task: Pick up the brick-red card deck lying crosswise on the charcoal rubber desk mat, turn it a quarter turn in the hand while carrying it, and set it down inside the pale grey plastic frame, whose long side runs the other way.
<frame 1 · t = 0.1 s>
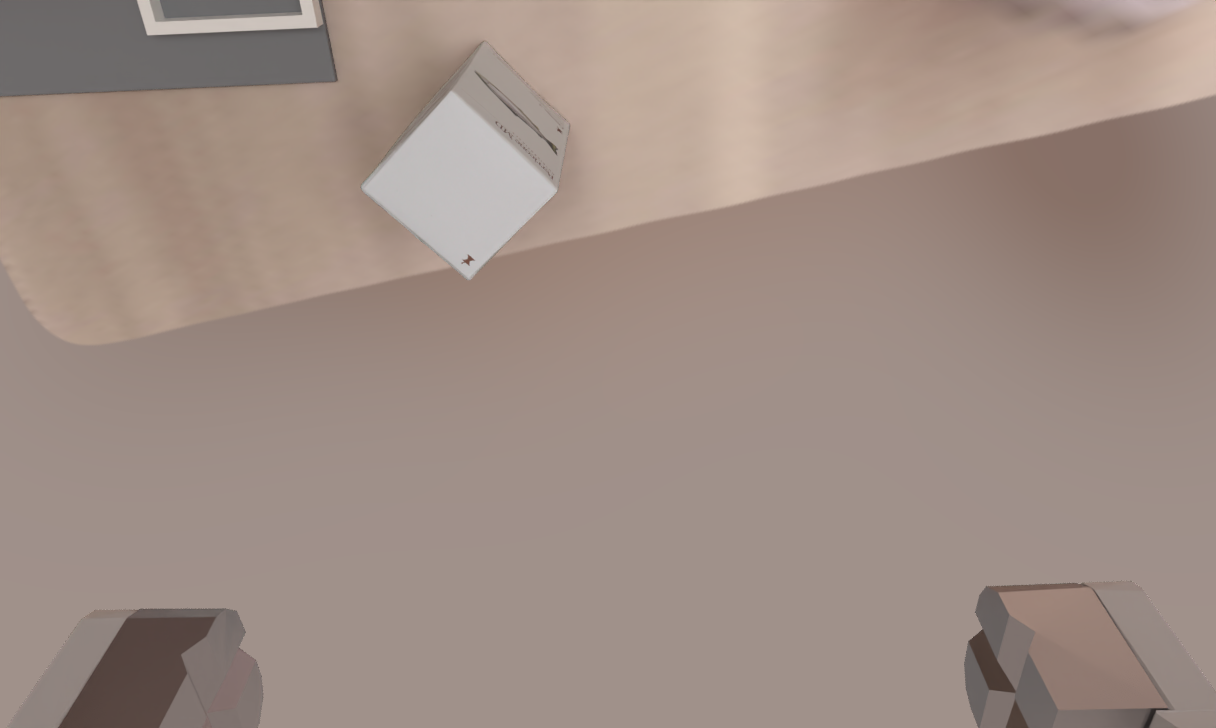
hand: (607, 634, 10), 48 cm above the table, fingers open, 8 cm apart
supplement box: (490, 121, 55), on the table
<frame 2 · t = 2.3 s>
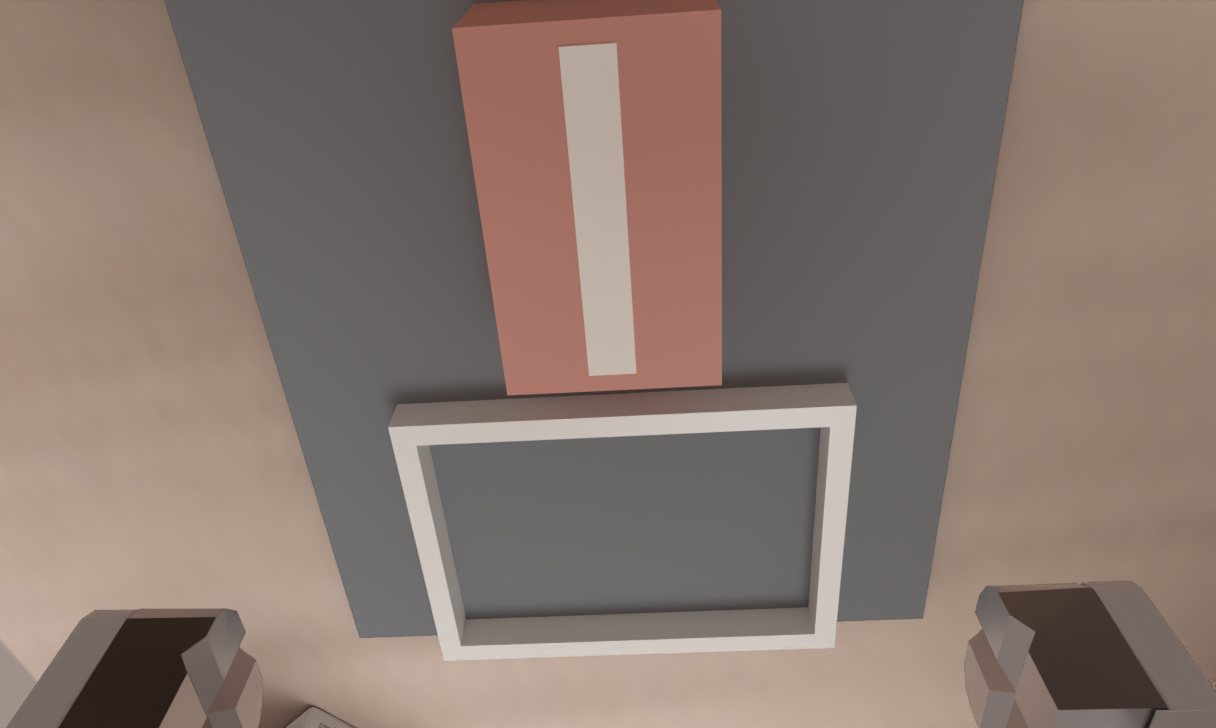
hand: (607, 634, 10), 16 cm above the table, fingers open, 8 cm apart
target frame: (628, 520, 29), resting on desk mat
card deck: (604, 181, 23), resting on desk mat
desk mat: (617, 356, 26), on the table
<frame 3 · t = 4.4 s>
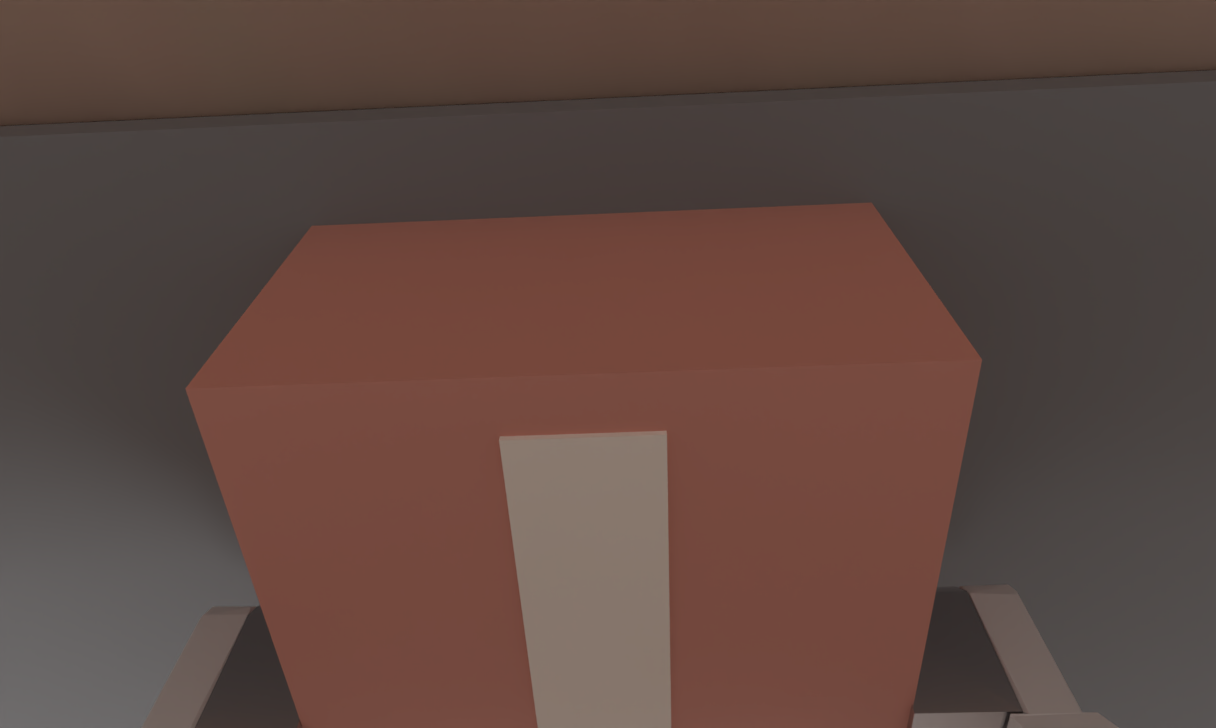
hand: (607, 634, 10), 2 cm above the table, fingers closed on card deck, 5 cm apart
card deck: (609, 556, 11), resting on desk mat, touching gripper
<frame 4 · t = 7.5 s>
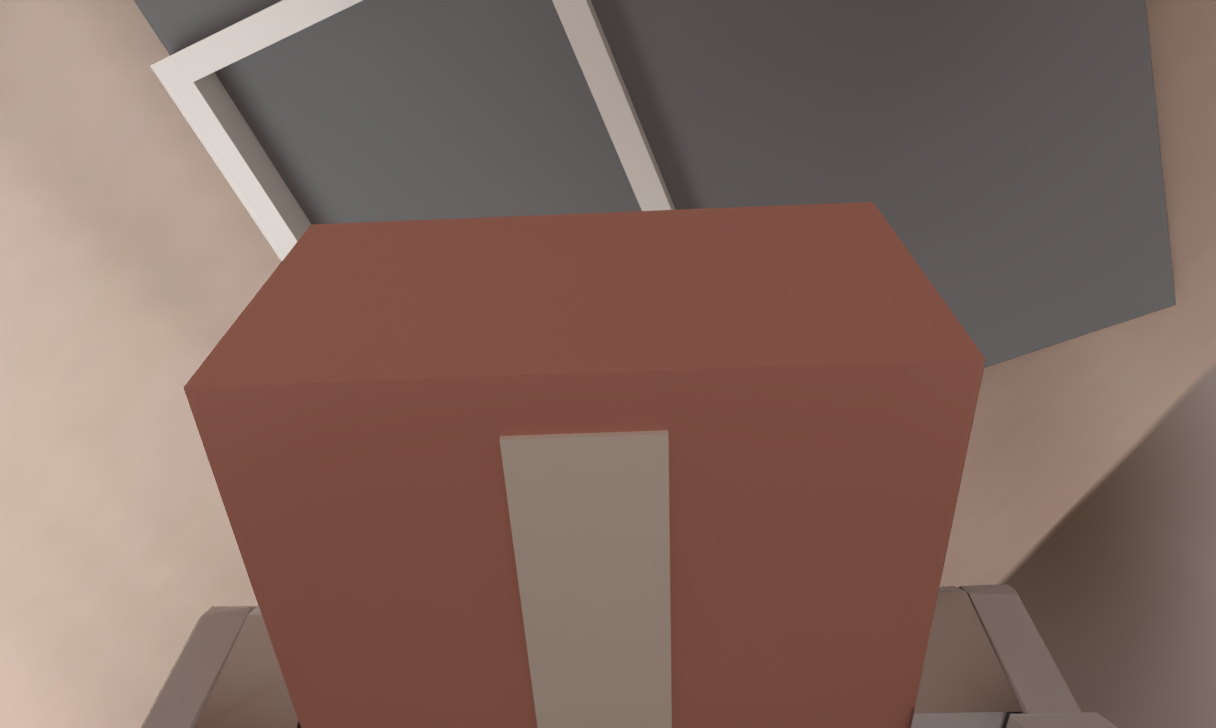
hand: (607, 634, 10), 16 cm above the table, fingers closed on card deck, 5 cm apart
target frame: (479, 218, 24), resting on desk mat
card deck: (609, 556, 11), point 15 cm above the table, touching gripper
desk mat: (687, 127, 23), on the table
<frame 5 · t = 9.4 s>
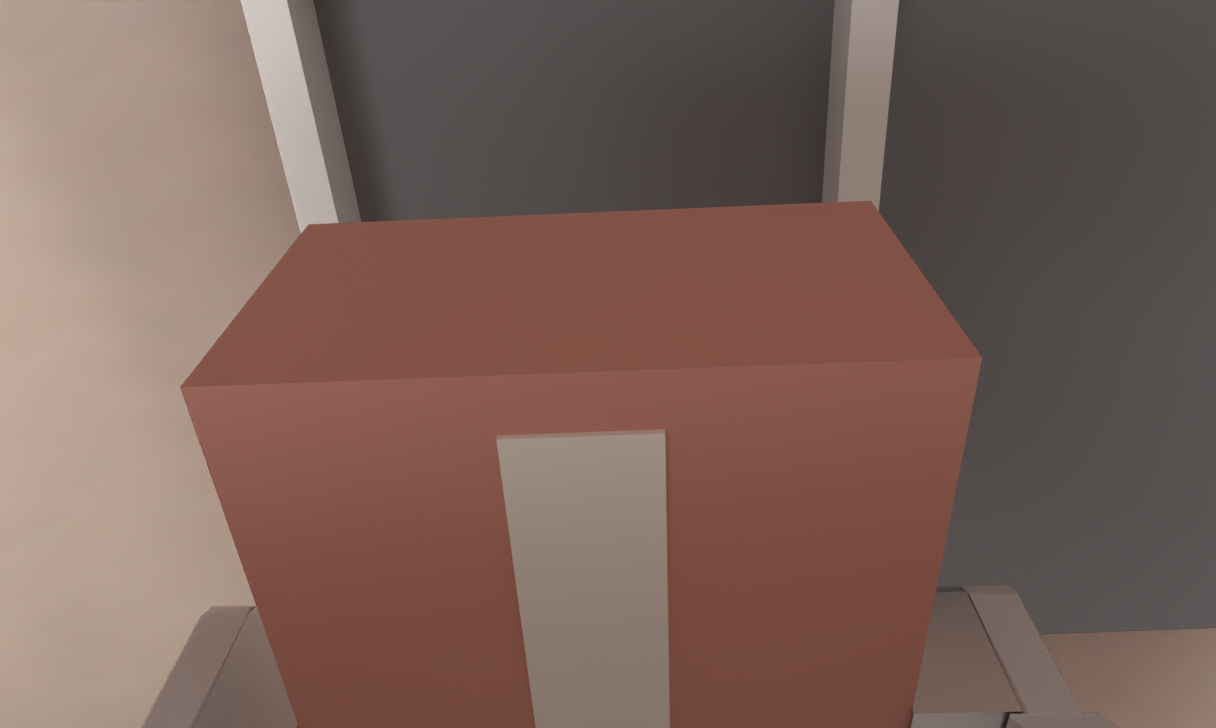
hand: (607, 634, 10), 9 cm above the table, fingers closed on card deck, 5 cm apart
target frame: (595, 288, 17), resting on desk mat
card deck: (608, 556, 11), point 8 cm above the table, touching gripper
desk mat: (904, 263, 17), on the table
when the fingers open (3 cm above the table, at t = 10.9 s): card deck drops 1 cm, resting on desk mat.
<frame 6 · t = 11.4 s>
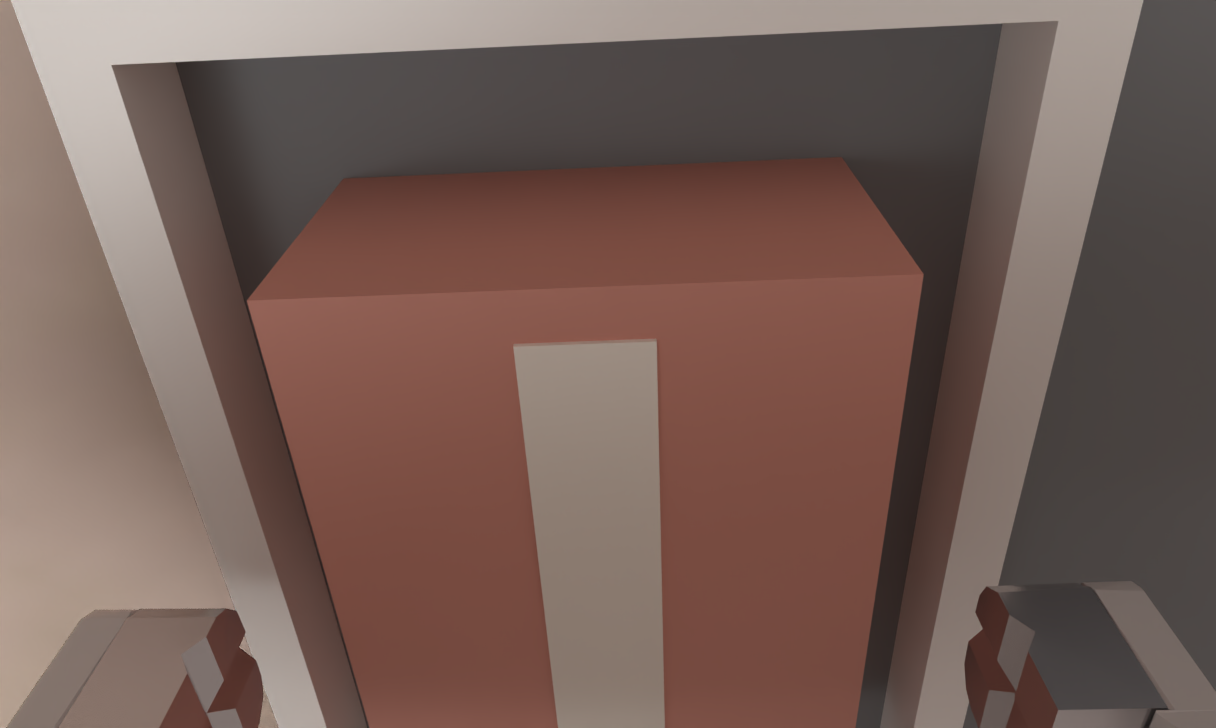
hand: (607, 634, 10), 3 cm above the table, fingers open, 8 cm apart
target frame: (608, 485, 12), resting on desk mat
card deck: (609, 488, 12), resting on desk mat
desk mat: (1043, 453, 12), on the table
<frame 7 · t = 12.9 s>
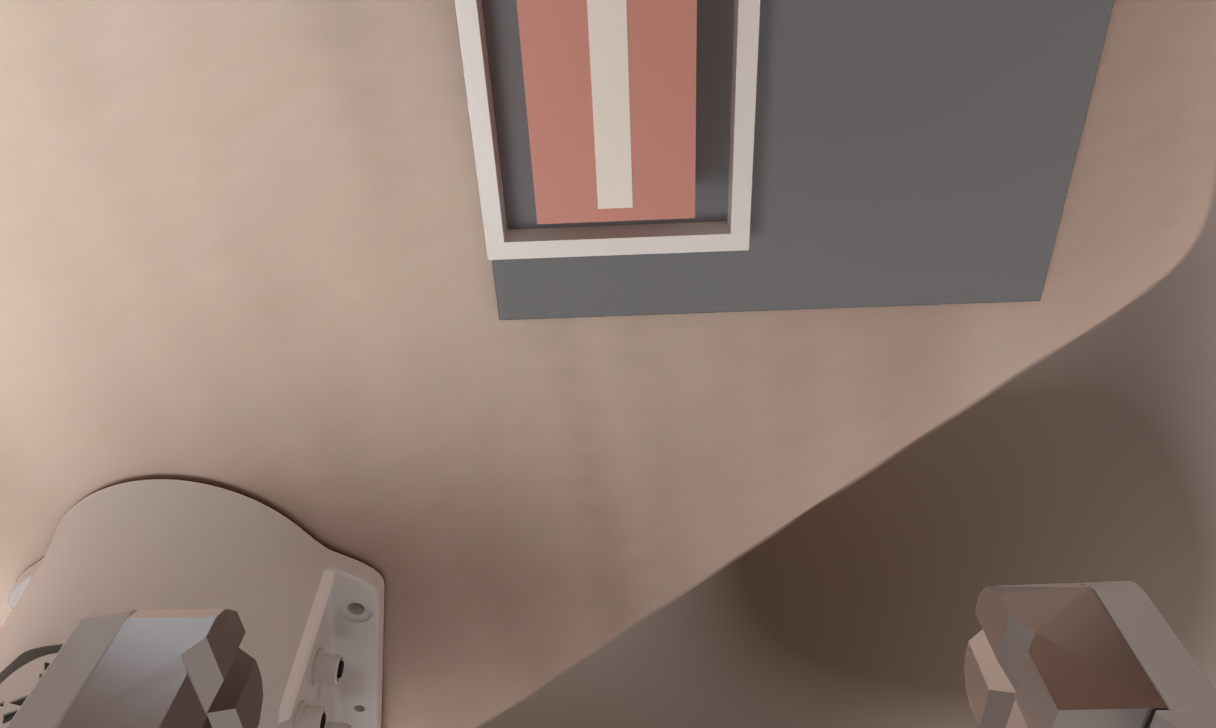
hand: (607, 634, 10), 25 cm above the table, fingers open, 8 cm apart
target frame: (610, 66, 31), resting on desk mat
card deck: (610, 67, 31), resting on desk mat
desk mat: (780, 55, 31), on the table
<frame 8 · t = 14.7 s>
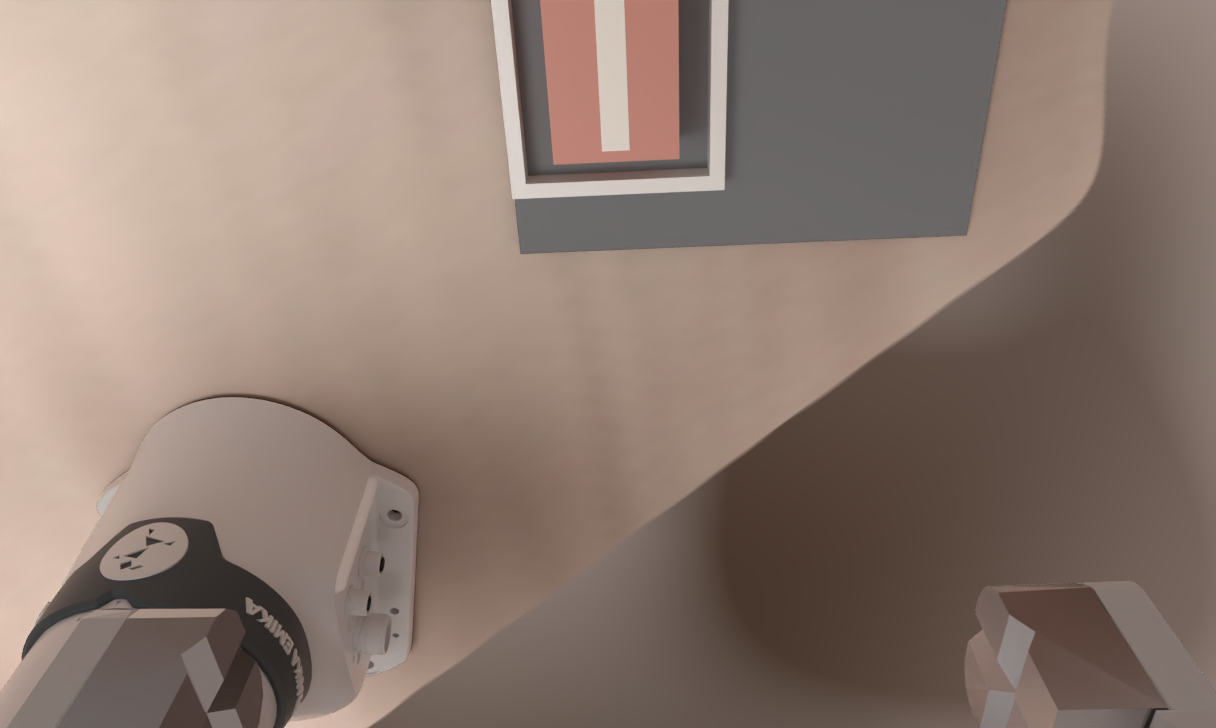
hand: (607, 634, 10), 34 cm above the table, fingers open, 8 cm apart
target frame: (611, 39, 39), resting on desk mat
card deck: (611, 40, 39), resting on desk mat
desk mat: (747, 30, 39), on the table
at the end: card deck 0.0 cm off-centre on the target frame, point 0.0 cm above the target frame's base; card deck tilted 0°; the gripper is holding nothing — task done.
